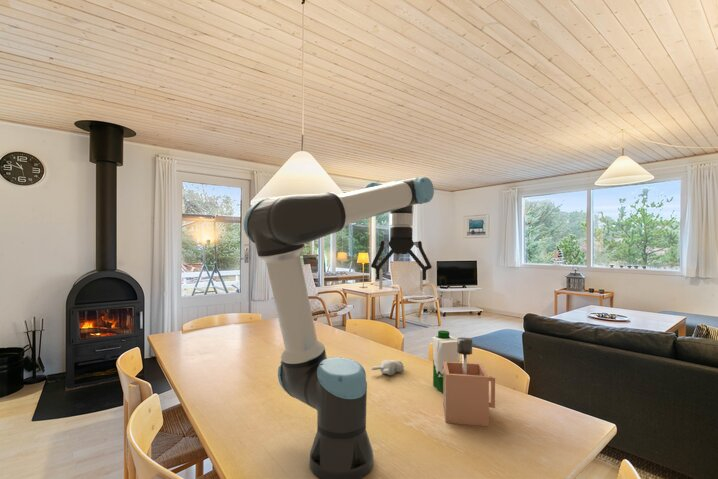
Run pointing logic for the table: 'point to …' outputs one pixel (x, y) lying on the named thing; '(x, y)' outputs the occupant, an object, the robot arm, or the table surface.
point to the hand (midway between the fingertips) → (400, 289)
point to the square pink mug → (467, 393)
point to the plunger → (464, 350)
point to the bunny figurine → (390, 367)
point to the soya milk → (443, 356)
